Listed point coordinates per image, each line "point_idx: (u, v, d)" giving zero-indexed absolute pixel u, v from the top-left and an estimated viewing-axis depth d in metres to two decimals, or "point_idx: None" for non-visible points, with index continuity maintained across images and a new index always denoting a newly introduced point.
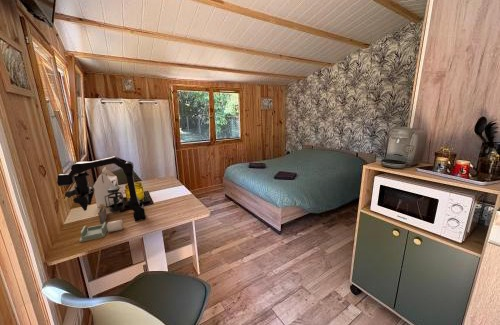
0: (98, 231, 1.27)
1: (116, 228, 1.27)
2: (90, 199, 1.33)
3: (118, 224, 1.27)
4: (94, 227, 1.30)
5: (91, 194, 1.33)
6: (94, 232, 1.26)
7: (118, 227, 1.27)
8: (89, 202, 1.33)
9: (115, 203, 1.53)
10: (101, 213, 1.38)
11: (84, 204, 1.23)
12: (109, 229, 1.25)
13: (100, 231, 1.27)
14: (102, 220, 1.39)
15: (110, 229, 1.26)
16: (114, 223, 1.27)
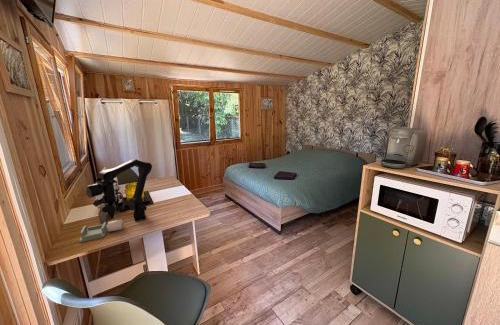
0: (98, 231, 1.27)
1: (116, 227, 1.27)
2: (115, 207, 1.31)
3: (118, 223, 1.28)
4: (94, 227, 1.30)
5: (116, 202, 1.31)
6: (94, 232, 1.26)
7: (118, 226, 1.28)
8: (114, 210, 1.31)
9: None
10: (101, 213, 1.38)
11: (111, 213, 1.22)
12: (109, 228, 1.26)
13: (100, 231, 1.27)
14: (102, 220, 1.39)
15: (110, 228, 1.26)
16: (114, 222, 1.28)
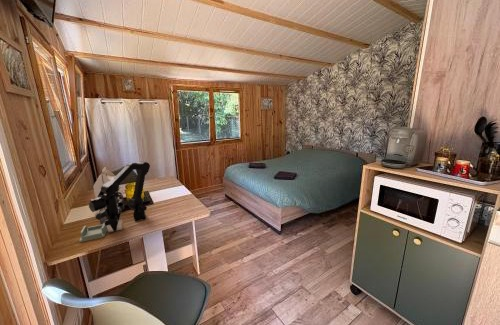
0: (98, 231, 1.27)
1: None
2: (117, 220, 1.32)
3: (118, 224, 1.27)
4: (94, 227, 1.30)
5: (118, 215, 1.32)
6: (94, 232, 1.26)
7: (118, 227, 1.27)
8: None
9: None
10: None
11: (114, 225, 1.25)
12: (109, 229, 1.25)
13: (100, 231, 1.27)
14: (102, 220, 1.39)
15: (110, 229, 1.26)
16: None
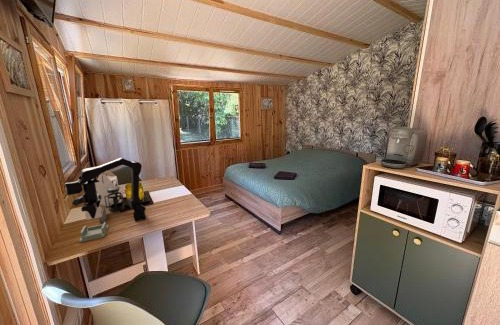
0: (98, 231, 1.27)
1: (95, 215, 1.21)
2: None
3: (97, 211, 1.22)
4: (94, 227, 1.30)
5: (98, 203, 1.26)
6: (94, 232, 1.26)
7: (97, 214, 1.22)
8: None
9: (114, 203, 1.53)
10: None
11: (92, 212, 1.19)
12: (87, 216, 1.20)
13: (100, 231, 1.27)
14: (102, 220, 1.39)
15: (88, 216, 1.20)
16: None
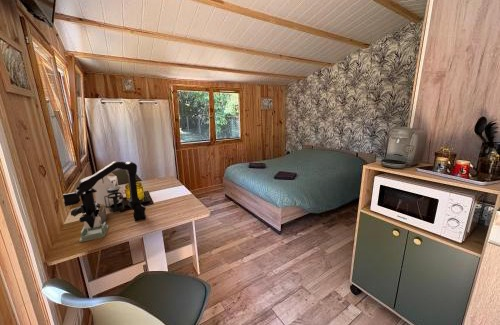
0: (98, 231, 1.27)
1: None
2: (95, 217, 1.27)
3: (95, 221, 1.23)
4: None
5: (96, 212, 1.27)
6: (94, 232, 1.26)
7: (95, 224, 1.23)
8: None
9: (114, 203, 1.53)
10: (101, 213, 1.38)
11: (91, 222, 1.20)
12: (86, 226, 1.21)
13: (100, 231, 1.27)
14: (102, 220, 1.39)
15: (87, 226, 1.21)
16: None
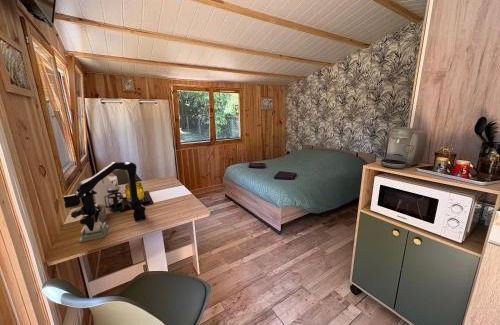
0: None
1: (94, 230, 1.23)
2: (96, 218, 1.29)
3: (96, 226, 1.24)
4: None
5: (97, 213, 1.29)
6: None
7: (96, 229, 1.23)
8: (95, 221, 1.29)
9: (114, 203, 1.53)
10: (101, 213, 1.38)
11: (90, 224, 1.19)
12: (87, 231, 1.22)
13: None
14: (102, 220, 1.39)
15: (88, 231, 1.22)
16: None
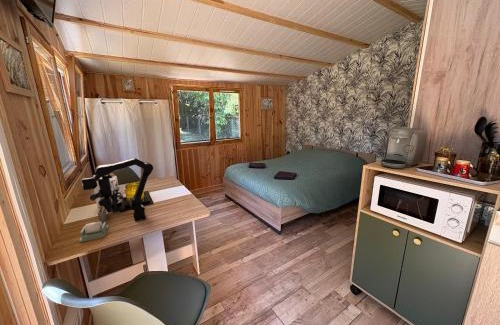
0: None
1: (94, 230, 1.23)
2: (112, 201, 1.35)
3: (96, 226, 1.24)
4: None
5: (113, 196, 1.35)
6: None
7: (96, 229, 1.23)
8: None
9: (114, 203, 1.53)
10: (101, 213, 1.38)
11: (108, 206, 1.26)
12: (87, 231, 1.22)
13: None
14: (102, 220, 1.39)
15: (88, 231, 1.22)
16: (92, 225, 1.23)
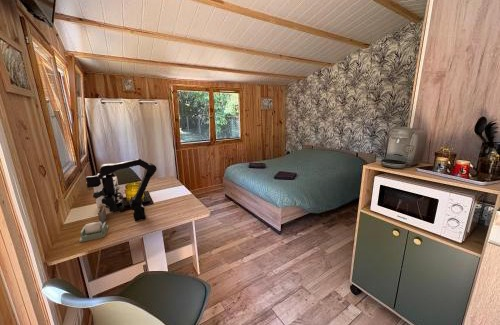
0: None
1: (94, 230, 1.23)
2: (114, 200, 1.36)
3: (96, 226, 1.24)
4: None
5: (115, 195, 1.37)
6: None
7: (96, 229, 1.23)
8: (113, 203, 1.36)
9: None
10: (101, 213, 1.38)
11: (111, 205, 1.27)
12: (87, 231, 1.22)
13: None
14: (102, 220, 1.39)
15: (88, 231, 1.22)
16: (92, 225, 1.23)
